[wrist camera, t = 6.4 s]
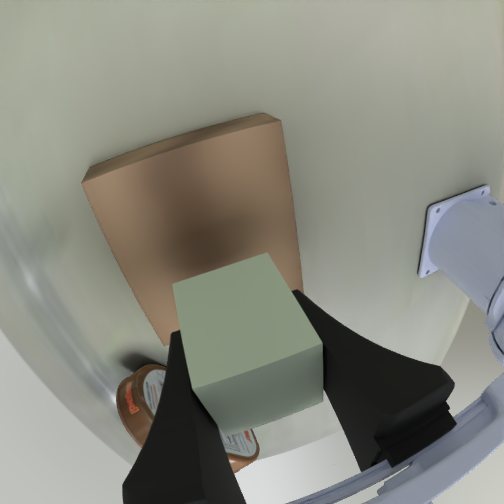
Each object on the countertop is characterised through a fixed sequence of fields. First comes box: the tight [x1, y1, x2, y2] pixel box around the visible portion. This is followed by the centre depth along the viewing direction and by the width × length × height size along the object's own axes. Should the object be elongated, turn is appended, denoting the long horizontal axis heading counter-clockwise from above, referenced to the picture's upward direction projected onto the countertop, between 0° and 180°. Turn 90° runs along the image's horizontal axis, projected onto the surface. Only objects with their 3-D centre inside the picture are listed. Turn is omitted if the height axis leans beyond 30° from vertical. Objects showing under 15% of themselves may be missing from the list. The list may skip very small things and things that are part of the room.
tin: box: [116, 364, 259, 473], centre depth 24 cm, size 15×3×8 cm, turn 36°
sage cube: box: [172, 252, 323, 437], centre depth 12 cm, size 4×4×5 cm
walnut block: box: [81, 113, 304, 346], centre depth 19 cm, size 10×12×3 cm
